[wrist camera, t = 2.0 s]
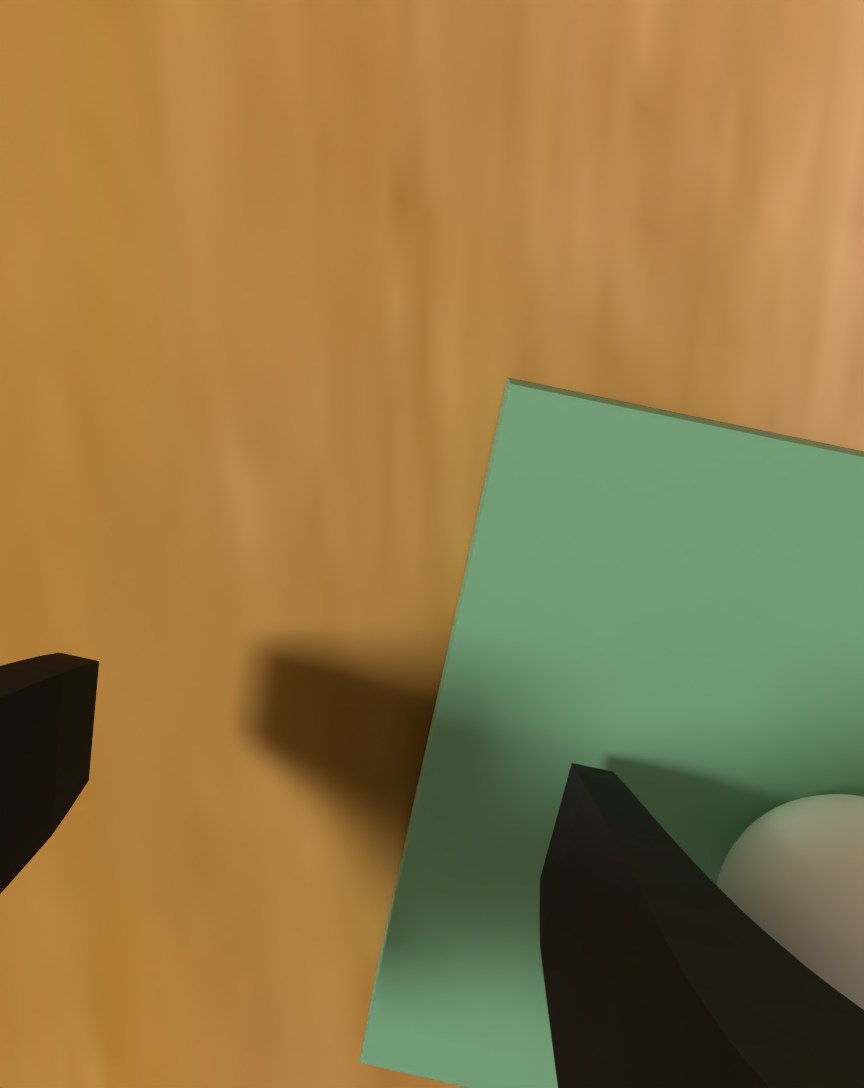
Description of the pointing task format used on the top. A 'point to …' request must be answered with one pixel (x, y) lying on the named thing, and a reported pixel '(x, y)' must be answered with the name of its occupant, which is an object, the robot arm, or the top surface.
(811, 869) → the ball
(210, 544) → the top surface
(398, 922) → the green
